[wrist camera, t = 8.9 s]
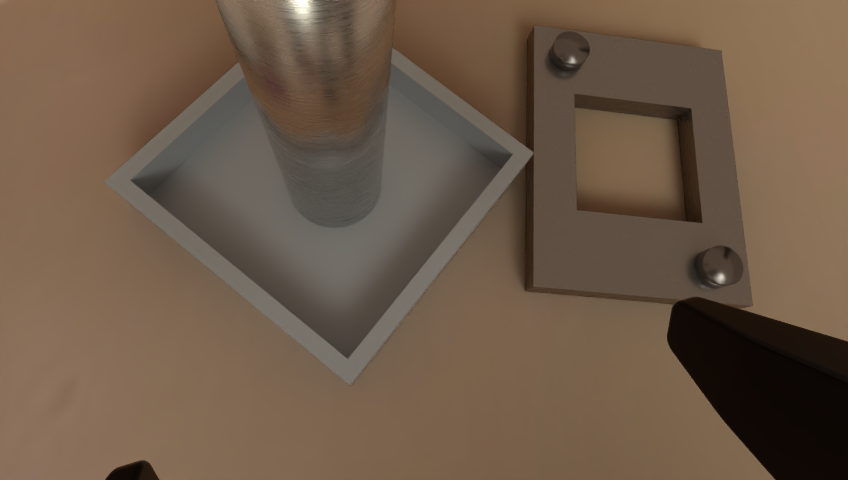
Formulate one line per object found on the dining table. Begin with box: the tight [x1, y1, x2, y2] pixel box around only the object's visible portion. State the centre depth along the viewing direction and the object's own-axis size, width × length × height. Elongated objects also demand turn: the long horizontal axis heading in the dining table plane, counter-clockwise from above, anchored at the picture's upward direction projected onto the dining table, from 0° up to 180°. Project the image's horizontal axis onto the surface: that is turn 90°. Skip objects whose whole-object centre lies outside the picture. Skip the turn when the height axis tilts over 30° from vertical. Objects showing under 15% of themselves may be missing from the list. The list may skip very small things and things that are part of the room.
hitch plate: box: [525, 25, 753, 309], centre depth 21 cm, size 12×9×2 cm
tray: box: [104, 47, 534, 385], centre depth 19 cm, size 11×11×2 cm
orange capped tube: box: [216, 0, 396, 228], centre depth 13 cm, size 5×5×14 cm
